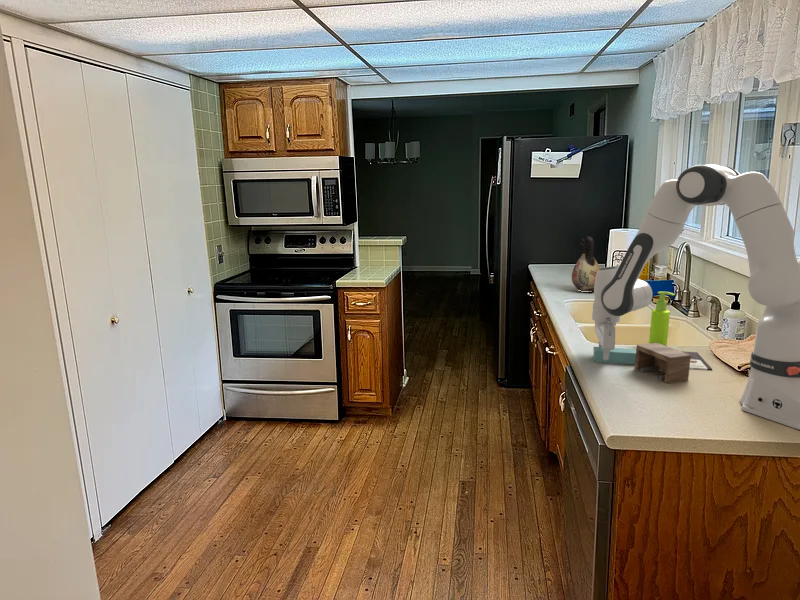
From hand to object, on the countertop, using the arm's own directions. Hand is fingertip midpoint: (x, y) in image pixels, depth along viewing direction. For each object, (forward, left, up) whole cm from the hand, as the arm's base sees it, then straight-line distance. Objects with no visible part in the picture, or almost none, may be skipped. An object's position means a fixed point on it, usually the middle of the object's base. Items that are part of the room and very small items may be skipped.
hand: (603, 355), depth 191 cm
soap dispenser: (+7, -30, -2) cm, 30 cm away
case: (-2, -3, -2) cm, 4 cm away
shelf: (-18, -8, -2) cm, 20 cm away
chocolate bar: (-10, -27, -2) cm, 28 cm away
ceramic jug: (+101, -66, -2) cm, 121 cm away
